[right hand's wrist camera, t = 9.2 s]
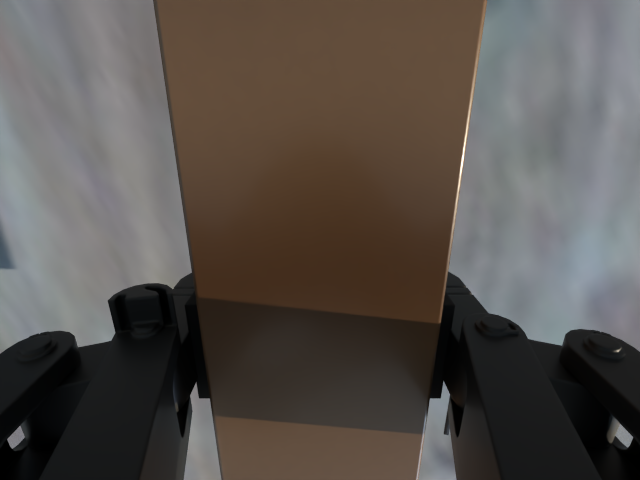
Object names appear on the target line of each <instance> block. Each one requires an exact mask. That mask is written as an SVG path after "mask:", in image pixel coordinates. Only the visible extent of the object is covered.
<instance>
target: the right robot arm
mask: <svg viewBox="0 0 640 480" xmlns="http://www.w3.org/2000/svg"><path fill="white" fill-rule="evenodd" d="M108 304H109V308H110V312H111V316H112V320H113V324H114V328H115V332H116V333H115V335H114V337H113V339H112V341H109V342H104V343H99V344H94V345H88V346H83V347H78V346H77V343H76V339H75V336H74V335H72V334H71V333H70V332H65V331H53V332H43V333H40V334H36V335H32V336H30V337H29V338H27V339H24V340H22V341H20V342H18V343H16V344H14V345H13V346H11V347H9V348H8V349H6V350H5V351H4V352H2V353H1V354H0V480H183V479H184V472H185V464H186V456H187V449H188V441H189V433H190V425H191V418H192V405H191V399H190V394H191V392H192V390H193V388H194V385H195V383H196V382H197V388H198V394H199V398H210V395H209V388H208V380H207V373H206V366H205V359H204V352H203V345H202V338H201V331H200V324H199V317H198V310H197V303H196V296H195V289H194V282H193V275H192V273H190V274H189V275H187V276H185V277H184V278H182V279H181V280H180V281H179V282H178V283H177V285H176V286H175V287H174V289H172V288H170V287H169V286H167V285H164V284H159V283H152V284H142V285H137V286H133V287H130V288H127V289H124V290H122V291H120V292H118V293H116V294H115V295H113V296H112V297H111V298H110V299H109V300H108ZM443 380H444V382H445V384H446V386H447V389H448V391H449V393H450V399H449V405H448V411H447V417H446V423H445V429H444V434H445V435H449V430H450V432H451V440H452V448H453V455H454V463H455V471H456V478H457V480H640V352H639V351H638V350H636V349H635V348H634V347H632V346H630V345H629V344H627V343H626V342H624V341H622V340H620V339H618V338H615V337H613V336H611V335H610V334H607V333H604V332H600V331H595V330H584V329H578V330H571V331H569V332H568V333H567V334H566V335H565V338H564V342H563V345H562V346H560V345H555V344H549V343H544V342H539V341H534V340H530V339H528V338H527V336H526V334H525V332H524V331H523V330H522V329H521V328H520V327H519V326H518V325H517V324H515V323H514V322H512V321H511V320H509V319H506V318H504V317H501V316H499V315H494V314H489V313H488V312H487V311H486V310H485V309H484V307H483V306H482V305H481V304H480V303H479V301H478V300H477V299H476V298H475V297H474V295H472V293H471V292H470V291H469V289H468V288H466V286H465V285H464V283H463V282H462V281H461V280H460V279H459V278H458V277H457V276H455V275H453V274H451V273H450V272H448V275H447V282H446V289H445V296H444V303H443V310H442V317H441V324H440V331H439V338H438V345H437V352H436V359H435V366H434V373H433V380H432V386H431V393H430V398H441V393H442V386H443ZM620 424H621V425H622V426H623V427H624V428H625V429H626V430H627V431H628V432H629V433H630V434H631V435H632V436H633V440H632V442H631V444H630V446H629V447H628V448H627V447H626V446H625V445H624V444H622V443H621V442H620V441H619V439H618V438H617V437H616V436H615V435H616V432H617V430H618V427H619V425H620ZM19 426H21V428H22V431H23V433H24V436H25V438H24V439H23V440H22V441H21V442H20V443H19V444H18V445H17V446H16V447H15V448H13V449H12V448H11V447H10V445H9V443H8V441H7V439H8V438H9V437H10V436H11V434H12V433H13V432H14V431H15V430H16V429H17V428H18V427H19Z"/></svg>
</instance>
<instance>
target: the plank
mask: <svg viewBox="0 0 640 480" xmlns="http://www.w3.org/2000/svg"><path fill="white" fill-rule="evenodd" d="M153 2H154V9H155V16H156V23H157V30H158V37H159V44H160V51H161V58H162V65H163V72H164V79H165V86H166V93H167V100H168V107H169V114H170V121H171V128H172V135H173V142H174V149H175V156H176V163H177V170H178V177H179V184H180V191H181V198H182V205H183V212H184V219H185V226H186V233H187V240H188V247H189V254H190V261H191V268H192V275H193V282H194V289H195V296H196V303H197V310H198V317H199V324H200V331H201V338H202V345H203V352H204V359H205V366H206V373H207V380H208V388H209V395H210V402H211V409H212V416H213V423H214V430H215V437H216V444H217V451H218V458H219V465H220V472H221V479H222V480H418V477H419V470H420V463H421V456H422V449H423V442H424V435H425V428H426V421H427V414H428V407H429V400H430V393H431V386H432V380H433V373H434V366H435V359H436V352H437V345H438V338H439V331H440V324H441V317H442V310H443V303H444V296H445V289H446V282H447V275H448V268H449V262H450V255H451V248H452V241H453V234H454V227H455V220H456V213H457V206H458V199H459V192H460V185H461V178H462V171H463V164H464V157H465V150H466V143H467V137H468V130H469V123H470V116H471V109H472V102H473V95H474V88H475V81H476V74H477V67H478V60H479V53H480V46H481V39H482V32H483V25H484V19H485V12H486V5H487V0H153Z"/></svg>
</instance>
